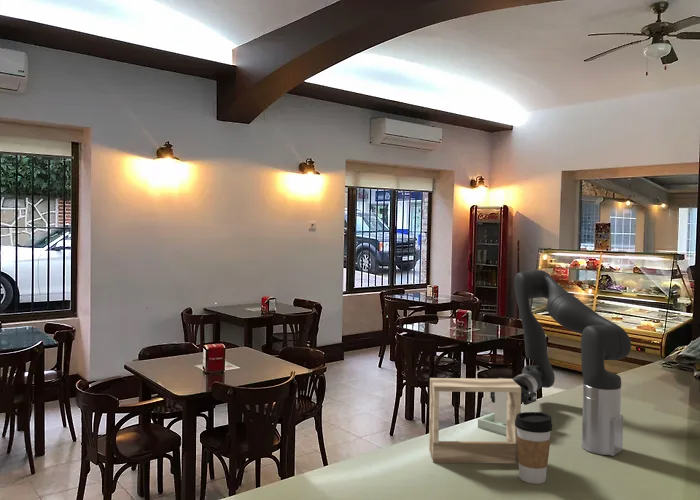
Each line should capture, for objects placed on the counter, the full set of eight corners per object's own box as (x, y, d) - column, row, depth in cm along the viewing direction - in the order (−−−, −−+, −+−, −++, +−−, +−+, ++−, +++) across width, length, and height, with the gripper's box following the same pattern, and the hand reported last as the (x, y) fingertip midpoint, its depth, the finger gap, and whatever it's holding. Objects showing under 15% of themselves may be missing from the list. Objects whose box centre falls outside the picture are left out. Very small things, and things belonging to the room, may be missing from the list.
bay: (429, 449, 150) (429, 378, 150) (510, 450, 150) (511, 378, 149) (433, 462, 142) (434, 386, 141) (519, 463, 142) (521, 387, 141)
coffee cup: (553, 487, 129) (555, 422, 128) (515, 484, 130) (516, 419, 130) (548, 472, 137) (550, 411, 136) (512, 469, 138) (513, 408, 138)
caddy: (500, 416, 171) (501, 375, 170) (516, 420, 168) (517, 378, 168) (494, 421, 167) (494, 379, 166) (510, 424, 164) (511, 382, 164)
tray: (533, 428, 167) (533, 419, 167) (513, 438, 159) (513, 429, 159) (498, 418, 176) (498, 410, 176) (477, 427, 167) (477, 419, 167)
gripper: (500, 372, 183) (479, 384, 169) (545, 379, 175) (527, 392, 161) (499, 395, 183) (479, 409, 169) (544, 403, 175) (526, 418, 161)
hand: (502, 401), depth 165 cm, fingers closed on caddy, 5 cm apart
